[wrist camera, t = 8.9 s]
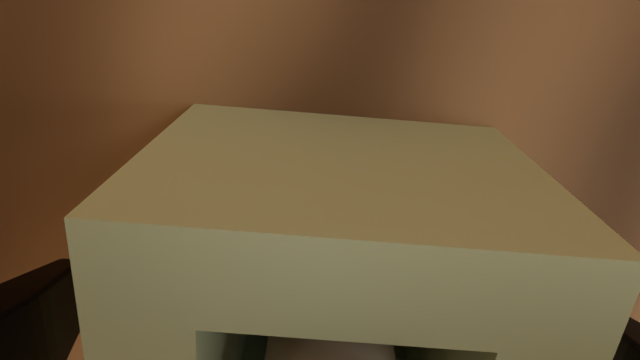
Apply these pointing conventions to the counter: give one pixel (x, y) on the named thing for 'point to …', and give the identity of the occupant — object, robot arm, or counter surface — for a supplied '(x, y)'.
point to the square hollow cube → (343, 244)
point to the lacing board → (309, 95)
